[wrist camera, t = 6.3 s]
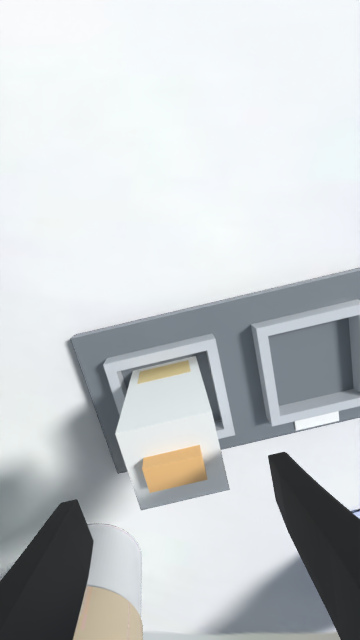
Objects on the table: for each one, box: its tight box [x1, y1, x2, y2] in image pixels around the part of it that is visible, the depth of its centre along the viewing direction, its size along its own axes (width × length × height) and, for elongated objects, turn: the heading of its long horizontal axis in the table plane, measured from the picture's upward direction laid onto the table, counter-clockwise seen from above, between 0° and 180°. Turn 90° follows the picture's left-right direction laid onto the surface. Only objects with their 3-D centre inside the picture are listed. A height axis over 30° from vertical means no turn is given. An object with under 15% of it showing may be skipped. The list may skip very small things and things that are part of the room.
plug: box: [115, 356, 230, 510], centre depth 14 cm, size 4×4×7 cm
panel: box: [71, 268, 360, 474], centre depth 17 cm, size 10×19×2 cm, turn 103°
